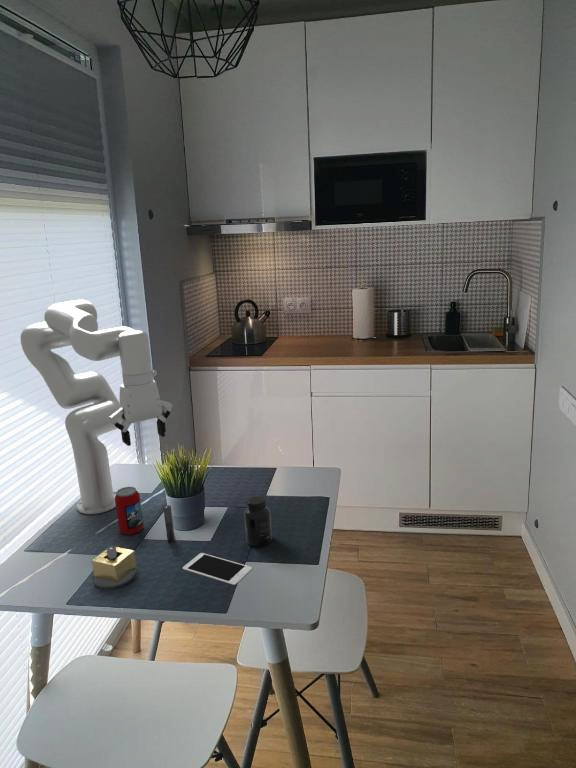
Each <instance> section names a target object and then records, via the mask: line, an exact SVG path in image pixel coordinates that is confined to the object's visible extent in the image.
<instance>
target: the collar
mask: <svg viewBox="0 0 576 768" xmlns="http://www.w3.org/2000/svg"><path fill="white" fill-rule="evenodd" d="M115 547H116V551H117V558H116V559H115V560H110V559H108V556H107V550H106V549H105V550H104V551H102V552H101V553H100V554H98V555H97V556H95V558H93V559H91V562H92V565H91V566H92V569H93V576H94V577H97V578H101V579H105V580H109V581H113V582H117V583H118V582H119V581H120V580H121V579H122V578H124V577H125V576H126V575H127V574H128V573H130V572H131V571H132V570H133V569H134V568H136V569H137V563H136V562H137V561H136V556H135V554H136V553H135V550H133V549H129V548H123V547H119V546H115Z"/></svg>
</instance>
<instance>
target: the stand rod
mask: <svg viewBox="0 0 576 768" xmlns="http://www.w3.org/2000/svg"><path fill="white" fill-rule="evenodd" d="M162 508H163V517H164V525H165V533H166V540H167V541H166V542H167V543H174V542H175V540H176V537H175V530H174V529H175V527H174V520H173V514H172V506H171V505H169V504H167V505H163V507H162Z"/></svg>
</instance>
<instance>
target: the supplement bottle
mask: <svg viewBox="0 0 576 768" xmlns="http://www.w3.org/2000/svg"><path fill="white" fill-rule="evenodd" d="M246 502H247V503H246V505H247V506H246V507H247V508H246V509H245V510H244V515H243V516H244V528H245V538H246V543H247V544H248V545H249V546H251V547H256V548H258V547H259V548H262V547H265V546H267V545H269V544H270V543H271V542H272V539H273V536H272V535H273V534H272V533H273V532H272V519H271V517H272V516H271V510H270V508H269V506H267V503H266V502H267V501H266V497H264V496H261V495H254V496H251V497H248V499H247V501H246Z"/></svg>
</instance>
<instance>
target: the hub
mask: <svg viewBox="0 0 576 768" xmlns="http://www.w3.org/2000/svg"><path fill="white" fill-rule="evenodd" d="M116 547H117V546H115V545H109V546H108V547H106V549H105V550H107V556H108V559H110V560H115V559H116V558H117V551H116ZM137 572H138V571H137V567H136V568H134V569H133V570H132V571H131V572H130V573H128V574H127V575H126V576H125V577H124V578H122V579H121V580H120V581H119V582H118V583H117V582H113V581H109V580H105V579H101V578H97V577H94V575H93V583H95V584H94V586H95V585H96V586H97V587H96V586H95V587H96V588H98V587H99V588H98V589H100V588H102V589H101V590H104V589H113V590H116V589H115V588H118V589H120V588H121V589H122V588H124V587H126V586H128V585H129V584H131V583H132V582H133V581H134V580H135V579H136V578H137ZM123 586H124V587H123Z"/></svg>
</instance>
